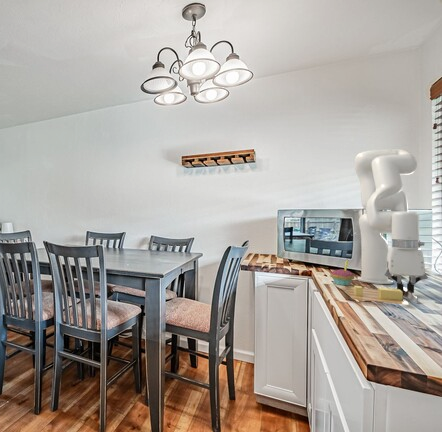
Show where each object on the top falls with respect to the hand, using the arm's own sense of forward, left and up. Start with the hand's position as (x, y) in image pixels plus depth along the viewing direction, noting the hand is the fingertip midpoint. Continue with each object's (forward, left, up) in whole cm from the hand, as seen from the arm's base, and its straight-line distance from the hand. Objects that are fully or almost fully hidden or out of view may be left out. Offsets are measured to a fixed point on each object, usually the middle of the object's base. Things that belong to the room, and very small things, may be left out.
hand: (405, 293), depth 118 cm
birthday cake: (-12, -18, -2) cm, 22 cm away
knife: (+3, 0, -1) cm, 4 cm away
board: (+5, -10, -1) cm, 11 cm away
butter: (+8, -6, 0) cm, 10 cm away
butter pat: (+8, -15, 0) cm, 17 cm away
